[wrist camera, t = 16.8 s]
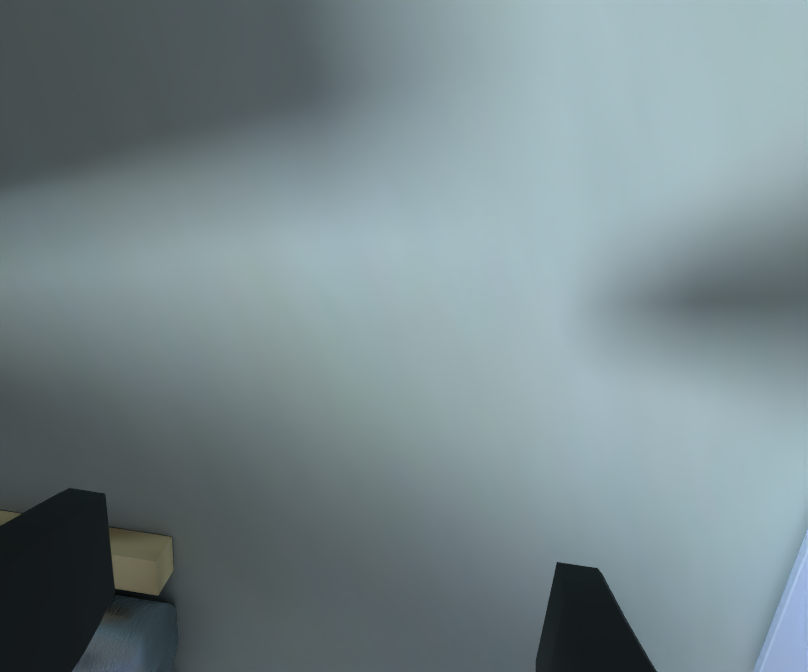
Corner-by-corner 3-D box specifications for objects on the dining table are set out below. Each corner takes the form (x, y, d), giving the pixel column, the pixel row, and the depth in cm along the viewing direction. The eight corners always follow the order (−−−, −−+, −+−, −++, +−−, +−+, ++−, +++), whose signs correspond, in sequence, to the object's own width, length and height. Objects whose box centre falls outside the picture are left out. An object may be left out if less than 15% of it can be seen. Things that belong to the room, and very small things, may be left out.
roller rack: (171, 536, 24) (155, 561, 23) (181, 703, 27) (167, 732, 26) (-55, 501, 24) (-81, 523, 23) (-20, 668, 28) (-41, 694, 26)
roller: (176, 578, 25) (119, 672, 21) (180, 663, 26) (128, 765, 23) (-42, 543, 25) (-134, 628, 22) (-25, 628, 27) (-108, 722, 23)
